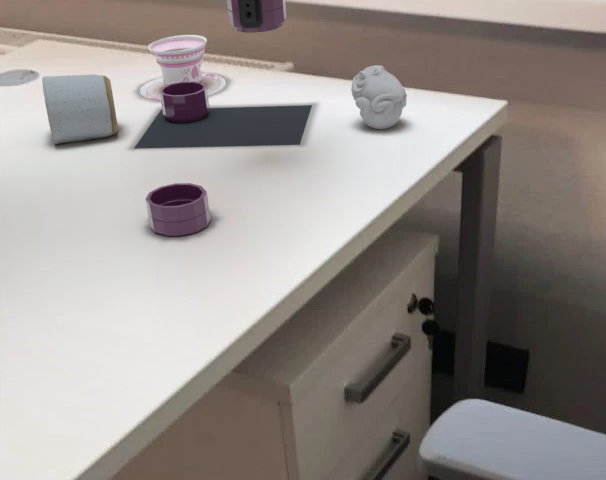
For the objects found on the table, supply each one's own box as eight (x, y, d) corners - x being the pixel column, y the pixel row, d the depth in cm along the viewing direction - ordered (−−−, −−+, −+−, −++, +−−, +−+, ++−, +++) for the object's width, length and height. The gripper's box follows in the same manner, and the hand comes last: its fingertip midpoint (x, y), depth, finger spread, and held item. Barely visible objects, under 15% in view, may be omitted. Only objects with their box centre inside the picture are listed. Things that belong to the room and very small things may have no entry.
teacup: (185, 109, 116) (178, 60, 112) (122, 96, 122) (113, 49, 118) (244, 83, 123) (239, 36, 120) (181, 72, 129) (175, 27, 126)
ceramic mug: (122, 143, 108) (110, 77, 103) (55, 153, 106) (39, 86, 102) (116, 117, 116) (104, 55, 111) (53, 126, 115) (38, 64, 110)
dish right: (225, 35, 90) (221, -2, 88) (236, 20, 95) (232, -15, 92) (281, 32, 89) (278, -5, 87) (289, 18, 94) (287, -18, 92)
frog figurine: (373, 115, 110) (373, 56, 105) (418, 126, 106) (419, 65, 102) (341, 130, 107) (339, 69, 102) (386, 141, 103) (385, 79, 98)
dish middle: (145, 241, 86) (139, 207, 84) (160, 215, 91) (154, 183, 88) (203, 240, 85) (199, 207, 83) (215, 214, 90) (211, 182, 88)
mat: (134, 151, 105) (133, 148, 105) (161, 112, 116) (161, 109, 116) (299, 148, 103) (299, 144, 103) (312, 108, 114) (312, 105, 113)
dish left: (159, 124, 111) (155, 96, 109) (170, 109, 116) (165, 82, 113) (204, 123, 110) (200, 95, 108) (213, 108, 115) (210, 80, 113)
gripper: (215, -184, 87) (235, 3, 98) (180, -170, 76) (207, 39, 87) (290, -190, 86) (302, 0, 96) (266, -177, 75) (282, 36, 86)
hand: (257, 18), depth 92 cm, fingers closed on dish right, 6 cm apart
